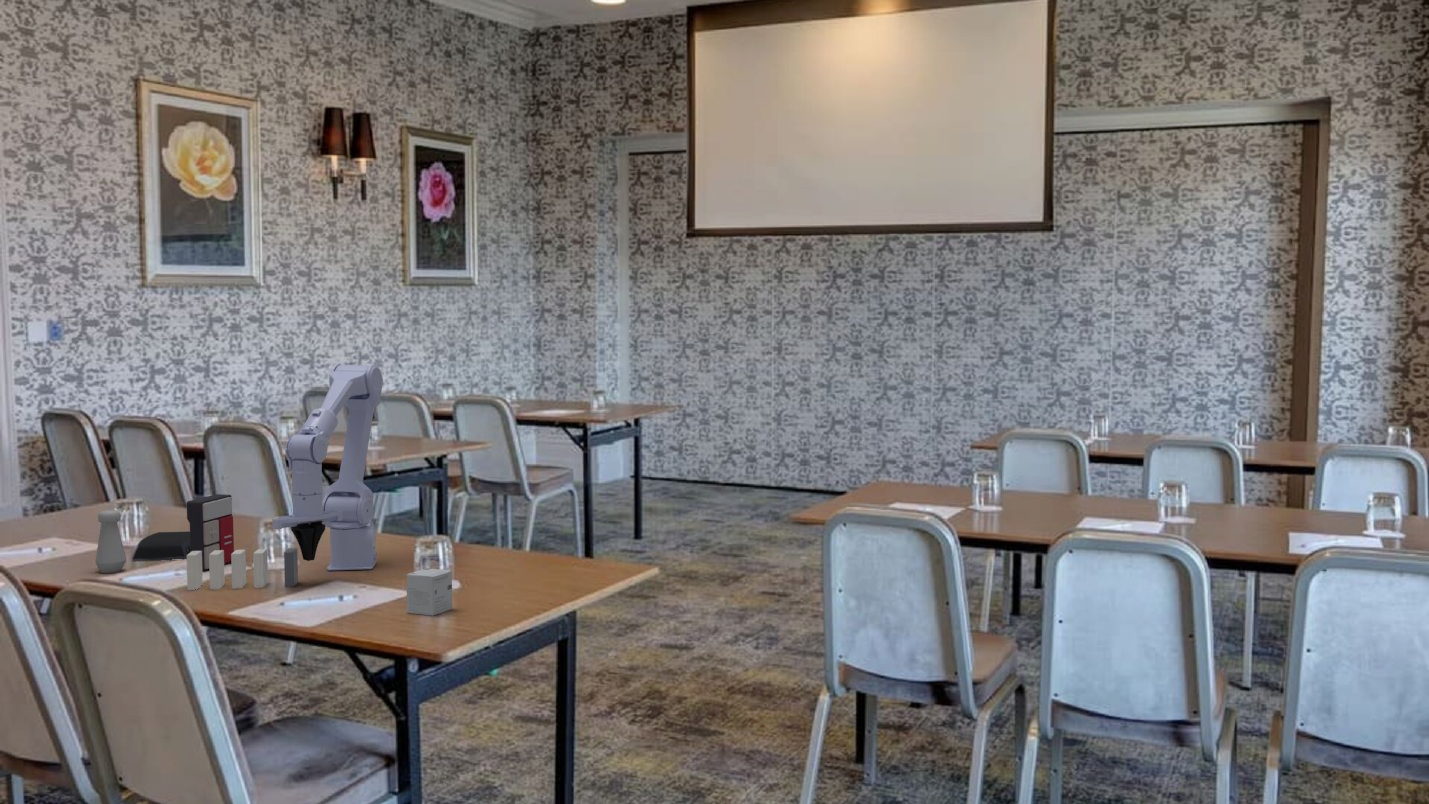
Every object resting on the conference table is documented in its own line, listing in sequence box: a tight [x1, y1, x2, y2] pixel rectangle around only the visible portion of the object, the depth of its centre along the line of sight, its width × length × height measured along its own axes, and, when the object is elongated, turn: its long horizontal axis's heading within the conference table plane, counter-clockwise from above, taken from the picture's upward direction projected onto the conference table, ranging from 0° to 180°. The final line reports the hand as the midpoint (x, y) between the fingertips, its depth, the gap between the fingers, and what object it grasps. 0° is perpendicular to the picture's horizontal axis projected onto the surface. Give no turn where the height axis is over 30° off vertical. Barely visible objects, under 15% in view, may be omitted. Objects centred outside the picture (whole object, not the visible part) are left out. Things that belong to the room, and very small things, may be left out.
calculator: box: [186, 493, 235, 572], centre depth 262 cm, size 11×4×15 cm, turn 168°
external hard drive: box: [130, 531, 191, 563], centre depth 278 cm, size 13×19×4 cm
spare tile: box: [283, 547, 299, 588], centre depth 245 cm, size 2×4×7 cm, turn 9°
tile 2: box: [252, 548, 269, 589], centre depth 244 cm, size 2×4×7 cm, turn 9°
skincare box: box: [406, 567, 453, 616], centre depth 224 cm, size 6×6×7 cm
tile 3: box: [230, 549, 247, 590], centre depth 243 cm, size 2×4×7 cm, turn 10°
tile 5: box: [186, 551, 204, 591], centre depth 242 cm, size 2×4×7 cm, turn 9°
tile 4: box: [208, 550, 226, 590], centre depth 243 cm, size 2×4×7 cm, turn 10°
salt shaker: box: [95, 509, 127, 574], centre depth 257 cm, size 6×6×13 cm
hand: (308, 559), depth 246 cm, fingers closed
